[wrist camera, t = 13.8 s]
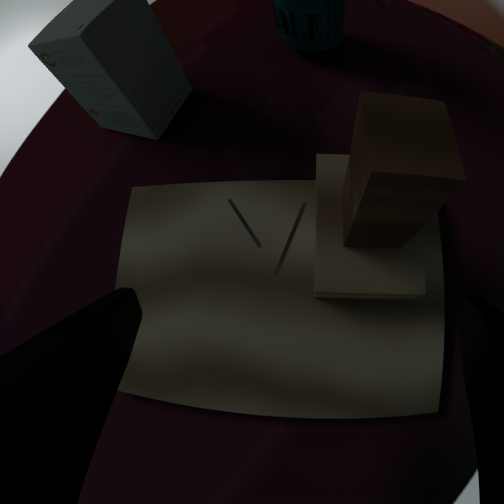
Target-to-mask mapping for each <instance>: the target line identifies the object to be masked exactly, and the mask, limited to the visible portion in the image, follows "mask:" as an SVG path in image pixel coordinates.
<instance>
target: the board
mask: <svg viewBox="0 0 504 504" xmlns="http://www.w3.org/2000/svg"><path fill="white" fill-rule="evenodd" d="M422 229H423V241H424V256H425V279H426V294H424V295H421V296H418V297H416V298H413V299H410V300H376V299H330V298H314V284H315V253H316V180H269V181H229V182H205V183H186V184H170V185H156V186H143V187H132V192H131V197H130V202H129V207H128V212H127V217H126V222H125V228H124V233H123V239H122V245H121V252H120V258H119V265H118V273H117V280H116V288H115V290H116V289H118V288H121V287H125V288H132V289H134V290H135V292H136V294H137V297H138V300H139V303H140V306H141V309H142V313H143V316H142V321H141V324H140V327H139V330H138V333H137V337H136V340H135V343H134V346H133V350H132V353H131V356H130V359H129V362H128V365H127V367H126V370H125V372H124V375H123V377H122V380H121V382H120V384H119V387H118V389H117V390H119V391H122V392H126V393H130V394H134V395H139V396H143V397H147V398H152V399H156V400H161V401H166V402H171V403H176V404H182V405H187V406H193V407H199V408H205V409H212V410H219V411H227V412H235V413H243V414H253V415H264V416H277V417H293V418H324V419H349V418H379V417H395V416H407V415H417V414H427V413H435V412H438V407H439V399H440V391H441V381H442V369H443V353H444V322H445V307H444V275H443V259H442V247H441V237H440V228H439V219H438V212H436V213H435V214H434V216H433V217H432V218H431V219H430V220H429V221H428V222H427V223H426V224H425V225H424V226H423V227H422Z"/></svg>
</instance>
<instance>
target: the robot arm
mask: <svg viewBox="0 0 504 504" xmlns="http://www.w3.org/2000/svg"><path fill="white" fill-rule="evenodd" d="M142 316H143V313H142V309H141V306H140V303H139V300H138V297H137V294H136V292H135V290H134V289H132V288H125V287H121V288H118V289H116V290H114V291H113V292H111V293H109V294H107V295H105V296H104V297H102V298H100V299H98V300H97V301H95V302H93V303H91V304H89V305H88V306H86V307H84V308H82V309H81V310H79V311H77V312H75V313H74V314H72V315H70V316H68V317H67V318H65V319H63V320H61V321H60V322H58V323H56V324H54V325H53V326H51V327H49V328H48V329H46V330H44V331H42V332H41V333H39V334H37V335H36V336H34V337H32V338H31V339H29V340H27V341H25V342H24V344H23V343H22V344H20V345H19V346H17V347H15V348H14V349H12V350H10V351H8V352H7V353H5V354H3V355H2V356H0V504H77V502H78V498H79V495H80V492H81V489H82V486H83V481H84V479H85V476H86V473H87V470H88V467H89V464H90V461H91V459H92V456H93V453H94V450H95V447H96V444H97V442H98V439H99V436H100V433H101V431H102V428H103V425H104V423H105V420H106V417H107V415H108V412H109V410H110V407H111V405H112V402H113V399H114V397H115V394H116V392H117V389H118V387H119V384H120V382H121V380H122V377H123V375H124V372H125V370H126V367H127V365H128V362H129V359H130V356H131V353H132V350H133V346H134V343H135V340H136V337H137V333H138V330H139V327H140V324H141V321H142ZM456 332H457V337H458V343H459V349H460V356H461V363H462V371H463V377H464V382H465V387H466V391H467V396H468V401H469V407H470V412H471V418H472V424H473V431H474V438H475V446H476V454H477V464H478V475H479V494H480V504H504V314H503V313H502V312H501V311H499V310H498V309H496V308H495V307H494V306H492V305H491V304H490V303H488V302H487V301H486V300H484V299H483V298H481V297H480V296H468V297H466V298H465V300H464V302H463V305H462V307H461V310H460V313H459V315H458V318H457V321H456Z"/></svg>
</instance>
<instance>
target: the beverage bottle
mask: <svg viewBox="0 0 504 504" xmlns="http://www.w3.org/2000/svg"><path fill="white" fill-rule="evenodd" d="M272 4H273V3H272ZM274 6H275V8H274ZM344 9H345V8H344V0H274V4H273V10H275V11H276V12H275V13H276V17H277V21H276V17H275V21H276V24H277V23H278V24H277V25H276V27H278V29H279V31H278V32H279V34H280V35H279V34H278V35H279V36H281V38H282V40H283V41H284V42H285V43H286V44H287V45H289V46H290V47H292V48H295V49H298V50H303V51H313V52H314V51H324V50H328V49H331V48H333V47H335V46H337V45H338V44H339V43H340V42H341V40H342V38H343V34H344V27H345V24H344ZM275 13H274V16H275ZM278 32H277V33H278Z"/></svg>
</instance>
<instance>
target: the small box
mask: <svg viewBox="0 0 504 504" xmlns="http://www.w3.org/2000/svg"><path fill="white" fill-rule="evenodd" d="M28 47H29V48H30V49H31V50H32V52H33V53H34V54H35V55H36V56H37V57H38V58H39V60H40V61H41V62H42V63H43V64H44V65H45V66H46V67H47V68H48V69H49V71H50V72H51V73H52V74H53V75H54V76H55V77H56V78H57V79H58V80H59V82H61V84H62V85H63V86H64V87H65V88H66V89H67V90H68V92H69V93H70V94H71V95H72V96H73V97H74V98H75V99H76V100H77V101H78V102H79V103H80V104H81V105H82V106H83V107H84V109H85V110H86V111H87V112H88V113H89V114H90V115H91V116H92V117H93V118H94V119H95V121H96V122H97V123H98V124H99V125H100V126H101V127H102V128H106V129H111V130H115V131H120V132H124V133H129V134H133V135H137V136H142V137H146V138H150V139H155V140H159V139H160V137H161V136H162V134H163V133H164V131H165V130H166V128H167V126H168V125H169V123H170V122H171V120H172V119H173V117H174V116H175V114H176V113H177V111H178V110H179V108H180V107H181V106H182V104H183V103H184V101H185V100H186V98H187V97H188V95H189V94H190V93H191V91H192V87H191V85H190V83H189V81H188V79H187V77H186V76H185V74H184V72H183V70H182V68H181V66H180V64H179V62H178V60H177V58H176V56H175V54H174V52H173V50H172V48H171V46H170V44H169V42H168V40H167V38H166V36H165V34H164V32H163V30H162V28H161V27H160V25H159V23H158V21H157V19H156V17H155V15H154V13H153V11H152V9H151V7H150V6H149V4H148V2H147V0H73V1H72V2H71V3H70V4H69V5H68V6H67V7H66V8H64V9H63V10H62V11H61V12H60V13H59V14H58V15H57V16H56V17H55V18H54V19H53V20H52V21H51V22H50V23H49V24H48V25H47V26H46V27H45V28H44V29H43V30H42V31H41V32H40V33H39V34H38V35H37V36H36V37H35V38H34V39H33V40H32V41H31V42H30V44H29V45H28Z"/></svg>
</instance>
